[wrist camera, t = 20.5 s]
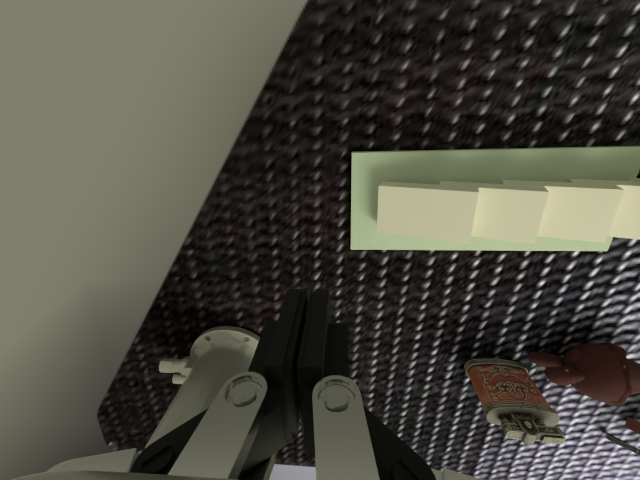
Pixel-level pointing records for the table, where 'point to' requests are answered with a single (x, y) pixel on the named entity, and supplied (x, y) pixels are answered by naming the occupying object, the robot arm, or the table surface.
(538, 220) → the domino
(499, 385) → the lighter
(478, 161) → the board
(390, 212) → the domino
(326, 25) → the table surface
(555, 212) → the domino
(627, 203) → the domino
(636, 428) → the binoculars
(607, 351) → the icecream
